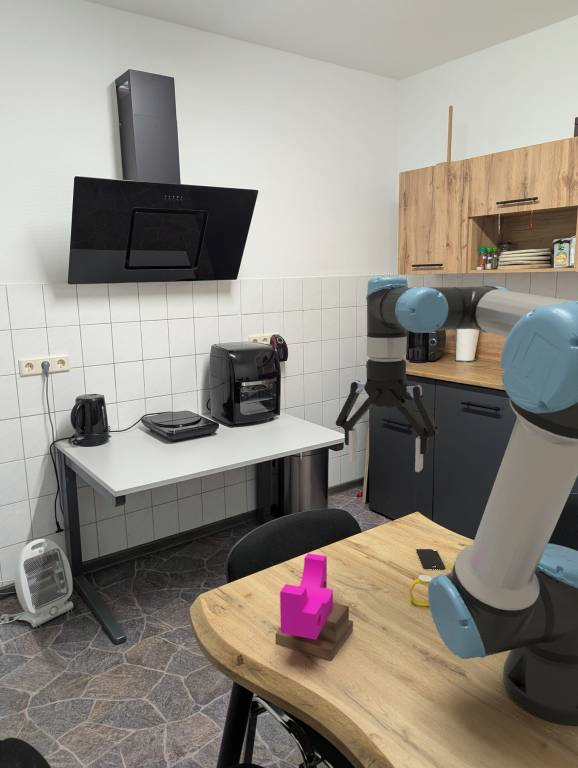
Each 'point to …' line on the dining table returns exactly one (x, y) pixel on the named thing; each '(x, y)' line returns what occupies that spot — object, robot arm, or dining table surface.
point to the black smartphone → (430, 559)
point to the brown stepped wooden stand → (322, 635)
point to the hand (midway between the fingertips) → (385, 465)
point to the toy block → (307, 600)
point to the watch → (424, 580)
